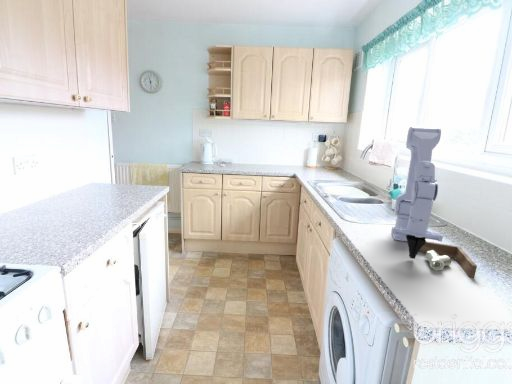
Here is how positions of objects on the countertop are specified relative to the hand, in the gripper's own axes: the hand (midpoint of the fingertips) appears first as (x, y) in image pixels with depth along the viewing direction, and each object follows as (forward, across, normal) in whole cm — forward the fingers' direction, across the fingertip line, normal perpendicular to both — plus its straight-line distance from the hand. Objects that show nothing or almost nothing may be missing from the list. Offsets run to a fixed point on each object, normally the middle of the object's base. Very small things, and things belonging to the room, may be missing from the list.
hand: (411, 257), depth 95 cm
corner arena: (+1, +10, +3) cm, 10 cm away
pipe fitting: (+2, +8, 0) cm, 8 cm away
